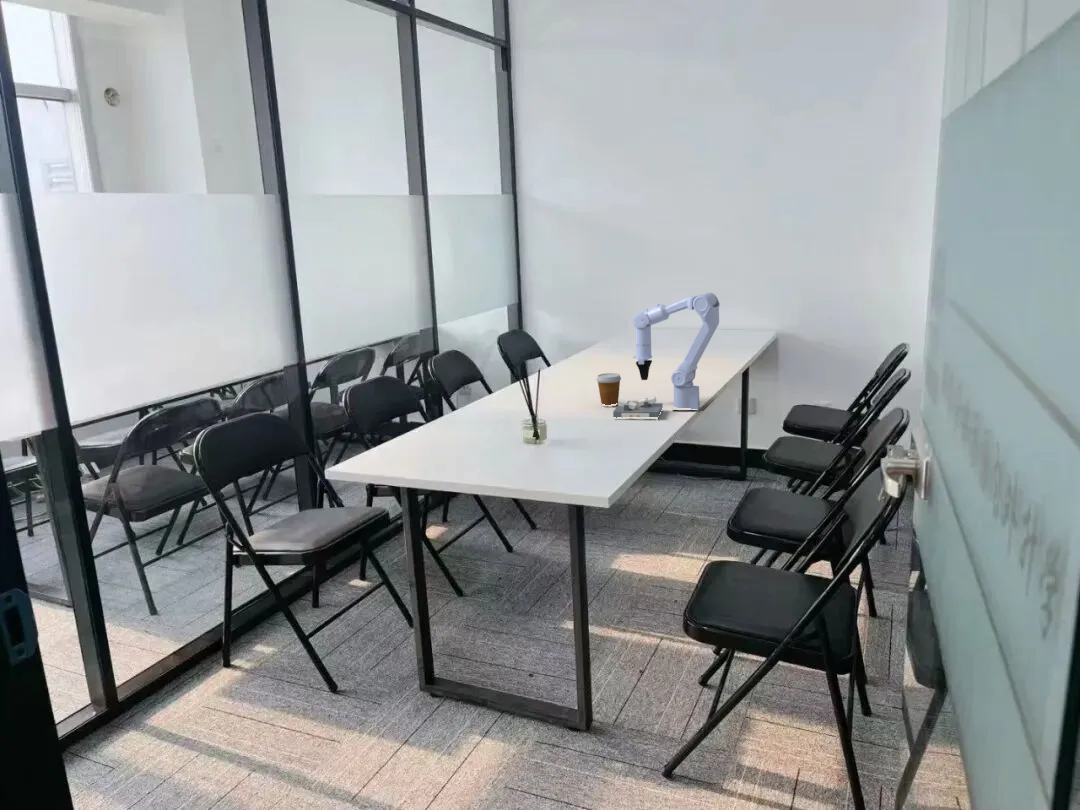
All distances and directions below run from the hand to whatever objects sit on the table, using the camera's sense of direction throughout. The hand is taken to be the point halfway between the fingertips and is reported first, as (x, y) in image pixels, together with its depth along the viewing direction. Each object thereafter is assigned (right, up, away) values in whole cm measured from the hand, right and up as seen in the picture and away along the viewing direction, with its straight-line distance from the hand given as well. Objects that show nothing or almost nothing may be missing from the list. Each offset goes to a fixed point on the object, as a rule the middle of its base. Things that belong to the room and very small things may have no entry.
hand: (644, 379), depth 299 cm
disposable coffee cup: (-12, -10, +7) cm, 18 cm away
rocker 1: (-8, -9, -13) cm, 18 cm away
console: (-4, -13, -11) cm, 17 cm away
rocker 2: (0, -8, -10) cm, 13 cm away
